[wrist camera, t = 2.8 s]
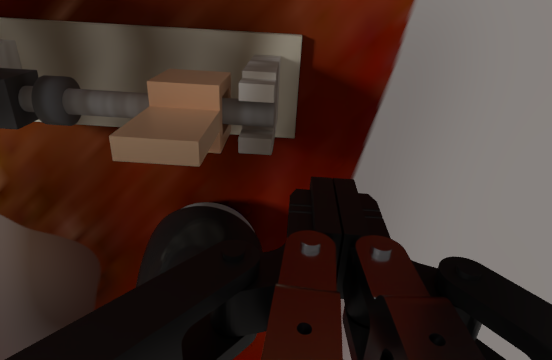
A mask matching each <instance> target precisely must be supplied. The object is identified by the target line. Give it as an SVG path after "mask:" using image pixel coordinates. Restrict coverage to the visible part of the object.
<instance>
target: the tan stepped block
mask: <svg viewBox="0 0 552 360" xmlns="http://www.w3.org/2000/svg"><path fill="white" fill-rule="evenodd" d="M147 89H148V98H149V107H148V108H146V109H145V110H144V111H142V112H141V113H139V114H138V115H137V116H135V117H134V118H133V119H131V120H130V121H129V122H127V123H126V124H125V125H123V126H122V127H120V128H119V129H118V130H116V131H115V132H114V133H112V134H111V135H110V136H109V139H110V145H111V152H112V158H113V161H124V162H139V163H155V164H170V165H185V166H200V165H201V163H202V161H203V160H204V158H205V156H206V154H207V153H221V151H222V149H223V147H224V145H225V143H226V141H227V139H228V137H229V135H230V133H231V125H229V124H222V98H231V72H217V71H201V70H184V69H168V70H166V71H164V72H162V73H160V74H159V75H157V76H155V77H153V78H151V79H150V80H148V81H147Z"/></svg>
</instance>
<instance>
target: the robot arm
mask: <svg viewBox="0 0 552 360" xmlns="http://www.w3.org/2000/svg"><path fill="white" fill-rule="evenodd" d="M340 299H344V302H345V307H344V313H343V324H344V328H345V333H346V337H347V341H348V346H349V350H350V354H351V359H352V360H506V359H504V358H503V357H502V356H500V355H499V354H498V353H496V352H495V351H493V350H492V349H491V348H489V347H488V346H487V345H485V344H484V343H482V342H481V341H480V340H478V339H477V338H476V337H477V335H478V332H479V330H480V327H481V325H482V324H483V325H485V326H486V327H488V328H489V329H491V330H492V331H493V332H495V333H496V334H498V335H499V336H501V337H502V338H504V339H505V340H507V341H508V342H509V343H511V344H512V345H514V346H515V347H517V348H518V349H520V350H521V351H522V352H524V353H525V354H526V355H527V356H528V357H530V359H531V360H552V304H550V303H548V302H546V301H545V300H543V299H541V298H539V297H538V296H536V295H534V294H532V293H531V292H529V291H527V290H525V289H524V288H522V287H520V286H518V285H517V284H515V283H513V282H511V281H510V280H508V279H506V278H504V277H503V276H501V275H499V274H497V273H496V272H494V271H492V270H490V269H489V268H487V267H485V266H483V265H481V264H480V263H478V262H475V261H473V260H470V259H467V258H463V257H448V258H445V259H443V260H442V261H441V262H440V263H439V267H438V268H434V267H431V266H427V265H423V264H420V263H417V262H414V261H412V260H410V258H409V256H408V254H407V253H406V251H405V249H404V248H403V247H402V246H401V245H400V244H399V243H398V242H396V241H394V240H392V239H391V238H390V236H389V233H388V230H387V228H386V225H385V223H384V220H383V219H382V215H381V212H380V209H379V207H378V204H377V202H376V201H375V200H374V199H373V198H372V197H371V196H370V195H369V194H361V193H358V192H357V188H356V185H355V182H354V180H353V179H339V178H333V179H332V178H323V177H311V182H310V190H304V189H296V190H295V191H294V192H293V193H292V194H291V195H290V202H289V215H288V228H287V240H286V243H285V244H284V245H283V246H282V247H280V248H278V249H276V250H273V251H270V252H264V253H259V250H258V249H257V248H256V247H255V246H254V245H253V244H251V243H249V242H247V241H243V240H225V241H222V242H219V243H217V244H215V245H213V246H211V247H209V248H208V249H206V250H204V251H202V252H200V253H198V254H197V255H195V256H193V257H191V258H189V259H187V260H186V261H184V262H182V263H180V264H178V265H177V266H175V267H173V268H171V269H169V270H167V271H166V272H164V273H162V274H160V275H158V276H156V277H155V278H153V279H151V280H149V281H147V282H146V283H144V284H142V285H140V286H138V287H136V288H135V289H133V290H131V291H129V292H127V293H125V294H124V295H122V296H120V297H118V298H116V299H115V300H113V301H111V302H109V303H107V304H105V305H104V306H102V307H100V308H98V309H96V310H94V311H93V312H91V313H89V314H87V315H85V316H84V317H82V318H80V319H78V320H76V321H74V322H73V323H71V324H69V325H67V326H65V327H64V328H62V329H60V330H58V331H56V332H54V333H53V334H51V335H49V336H47V337H45V338H44V339H42V340H40V341H38V342H36V343H34V344H33V345H31V346H29V347H27V348H25V349H23V350H22V351H20V352H18V353H16V354H14V355H12V356H11V357H9V358H7V359H5V360H232V359H234V358H235V357H236V356H237V355H238V354H239V353H241V352H242V351H243V350H244V349H245V348H246V347H247V346H249V345H250V344H251V343H252V342H253V340H254V339H255V337H256V334H257V333H259V332H264V331H266V336H265V341H264V346H263V351H262V357H261V360H343V358H342V330H341V329H342V327H341V300H340Z"/></svg>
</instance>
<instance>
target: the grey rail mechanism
mask: <svg viewBox="0 0 552 360" xmlns="http://www.w3.org/2000/svg"><path fill="white" fill-rule="evenodd" d="M301 45H302V35H298V34H281V33H263V32H246V31H229V30H212V29H194V28H177V27H160V26H142V25H125V24H108V23H90V22H73V21H56V20H38V19H21V18H4V17H0V128H5V129H19V128H22V127H24V126H26V125H28V124H30V123H32V122H43V123H45V124H52V125H68V126H72V125H75V124H80V125H95V126H111V127H122V126H123V125H125V124H126V123H127V122H129V121H130V120H131V119H133V118H134V117H135V116H137V115H138V114H139V113H141V112H142V111H144V110H145V109H146V108H148V107H149V98H148V89H147V81H148V80H150V79H151V78H153V77H155V76H157V75H159V74H160V73H162V72H164V71H166V70H168V69H184V70H201V71H217V72H231V98H222V124H229V125H231V133H230V134H235V135H239V137H238V153H248V154H263V155H271V153H272V151H273V145H274V138H275V137H282V138H294V137H295V124H296V111H297V98H298V85H299V71H300V58H301Z"/></svg>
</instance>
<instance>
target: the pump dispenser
mask: <svg viewBox="0 0 552 360" xmlns="http://www.w3.org/2000/svg"><path fill="white" fill-rule="evenodd" d="M225 240H243V241H247V242H249V243H251V244H253V245H254V246H255V247H256V248H257V249H258V250H259V253H263V251H262V247H261V244H260V241H259V239H258V237H257V235H256V234H255V232H254V230H253V228H252V226H251V225H250V223H249V222H248V221H247V220H246V219H245V218H244V217H243V216H242V215H241V214H240V213H238V212H237V211H235V210H234V209H232V208H230V207H228V206H225V205H222V204H218V203H210V202H203V203H196V204H192V205H189V206H186V207H184V208H182V209H179V210H177V211H174V212H172V213H171V214H169V215H168V216H166V217H165V218H164V219H163V220H162V221H161V222H160V223H159V224H158V225H157V227H156V228H155V230H154V232H153V233H152V235H151V237H150V239H149V242H148V244H147V247H146V250H145V253H144V256H143V259H142V262H141V266H140V269H139V274H138V279H137V284H136V287H138V286H140V285H142V284H144V283H146V282H147V281H149V280H151V279H153V278H155V277H156V276H158V275H160V274H162V273H164V272H166V271H167V270H169V269H171V268H173V267H175V266H177V265H178V264H180V263H182V262H184V261H186V260H187V259H189V258H191V257H193V256H195V255H197V254H198V253H200V252H202V251H204V250H206V249H208V248H209V247H211V246H213V245H215V244H217V243H219V242H222V241H225Z"/></svg>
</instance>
